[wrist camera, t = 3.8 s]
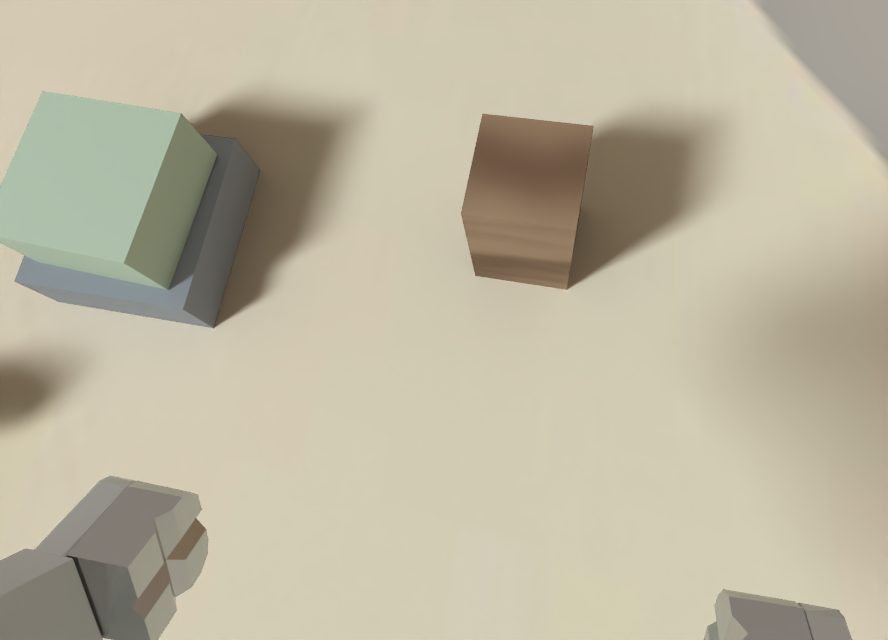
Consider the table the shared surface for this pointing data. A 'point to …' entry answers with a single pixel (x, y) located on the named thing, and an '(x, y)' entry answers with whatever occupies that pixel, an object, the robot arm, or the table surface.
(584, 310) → the table surface
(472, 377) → the table surface
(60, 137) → the tower top
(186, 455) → the table surface
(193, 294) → the tower base
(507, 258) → the walnut block
